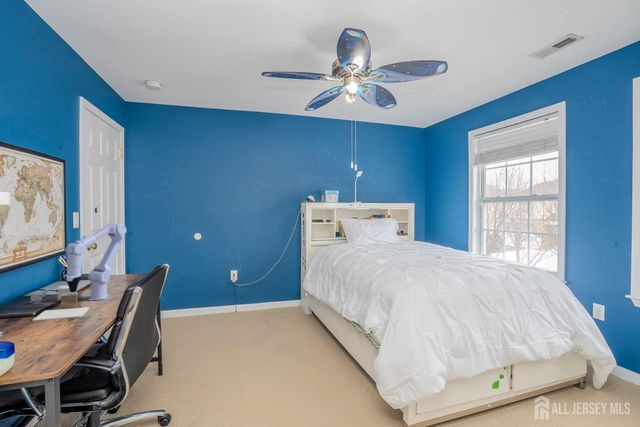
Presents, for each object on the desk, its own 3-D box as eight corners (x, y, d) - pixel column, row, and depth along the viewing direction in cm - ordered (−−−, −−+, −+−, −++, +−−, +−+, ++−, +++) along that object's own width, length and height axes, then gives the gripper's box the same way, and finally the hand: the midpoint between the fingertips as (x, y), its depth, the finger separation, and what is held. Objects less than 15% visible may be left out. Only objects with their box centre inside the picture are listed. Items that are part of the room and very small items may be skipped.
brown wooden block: (62, 308, 155) (62, 292, 155) (76, 307, 158) (77, 292, 158) (60, 310, 153) (61, 294, 153) (75, 309, 155) (76, 293, 155)
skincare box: (74, 298, 173) (75, 285, 173) (70, 301, 167) (71, 287, 167) (61, 299, 171) (62, 285, 171) (56, 302, 165) (57, 288, 165)
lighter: (30, 304, 159) (31, 289, 159) (31, 303, 160) (32, 288, 160) (48, 303, 162) (48, 288, 162) (49, 302, 164) (49, 287, 164)
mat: (44, 311, 150) (44, 310, 150) (89, 308, 157) (89, 307, 157) (32, 321, 137) (32, 319, 137) (81, 316, 145) (81, 315, 145)
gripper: (69, 264, 166) (68, 289, 166) (59, 269, 152) (58, 296, 152) (85, 263, 169) (84, 288, 168) (77, 268, 155) (76, 295, 155)
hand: (73, 292), depth 161 cm, fingers closed
